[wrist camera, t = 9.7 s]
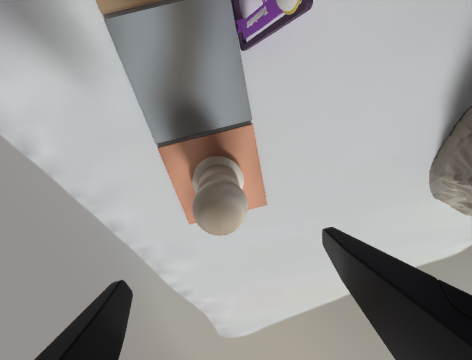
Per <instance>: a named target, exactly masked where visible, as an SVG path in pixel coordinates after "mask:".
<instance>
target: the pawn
mask: <svg viewBox="0 0 472 360" xmlns="http://www.w3.org/2000/svg"><path fill="white" fill-rule="evenodd" d="M192 183H193V188H194V191H195V193H196V195H195V197H194V200H193V204H192V211H193V216H194V219H195V221H196V223H197V224H198V225H199V226H200V228H202V229H203V230H204V231H206V232H207V233H210V234H213V235H227V234H230V233H232V232H234V231H236V230H237V229H238V228H239V227H240V226H241V225H242V224H243V222H244V221H245V218H246V216H247V212H248V202H247V198H246V196H245V194H244V192H243V191H242V189H243V185H244V176H243V173H242V171H241V168H240V167H239V165H238V164H237V163H236V162H235V161H234V160H232V159H231V158H229V157H226V156H221V155H215V156H211V157H208V158H206V159H204V160H202V161H201V162H200V163H199V164H198V166H197V167H196V169H195V171H194V175H193V180H192Z"/></svg>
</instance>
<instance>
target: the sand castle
mask: <svg viewBox="0 0 472 360" xmlns="http://www.w3.org/2000/svg"><path fill="white" fill-rule="evenodd" d="M451 134H452V135H450V136H449V137H448V138H447V139H446V141H445V142H444V143H443V145H442V147H441V149H440V150H439V152H438V155H437V159H434V161H433V163H432V166H431V169H430V175H429V184H430V190H431V193H432V194H433V196H434V197H435V199H438V200H440V201H442V202H444V203H446V204H448V205H450V206H451V207H452V208H454V209H456V210H458V211H459V212H461V213H463V214H465V215H469V216H472V106H471V108H470V109H468V111H467V112H466V113H465V115H464V116H463V117H462V119H461V121H459V122H458V124H457V125H456V126H455V129H454V130H453V132H452V133H451Z"/></svg>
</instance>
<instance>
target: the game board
mask: <svg viewBox="0 0 472 360" xmlns="http://www.w3.org/2000/svg"><path fill="white" fill-rule="evenodd" d="M158 1H162V0H96V2H97V5H98V7H99V9H100V12H101V13H102V14H108V13H113V12H117V11H121V10H125V9H129V8H133V7H137V6H141V5H146V4H150V3H154V2H158ZM104 21H105V24H106V26H107V29H108V31H109V33H110V36H111V38H112V40H113V43H114V45H115V48H116V50H117V52H118V55H119V57H120V60H121V62H122V64H123V67H124V69H125V72H126V74H127V76H128V79H129V81H130V83H131V86H132V88H133V91H134V93H135V95H136V98H137V100H138V103H139V105H140V107H141V110H142V112H143V115H144V117H145V119H146V122H147V124H148V127H149V129H150V131H151V134H152V136H153V138H154V141H155V143H156V144H157V143H161V142H165V141H169V140H173V139H177V138H181V137H185V136H189V135H193V134H197V133H202V132H206V131H210V130H214V129H218V128H222V127H226V126H230V125H234V124H238V123H242V122H246V121H250V120H252V117H251V111H250V106H249V100H248V94H247V89H246V83H245V77H244V72H243V66H242V60H241V55H240V49H239V43H238V38H237V32H236V26H235V21H234V15H233V9H232V4H231V0H183V1H179V2H175V3H171V4H167V5H163V6H158V7H154V8H150V9H146V10H142V11H138V12H134V13H130V14H125V15H121V16H117V17H113V18H109V19H105V20H104ZM158 150H159V153H160V155H161V158H162V160H163V162H164V165H165V167H166V170H167V172H168V174H169V177H170V179H171V181H172V184H173V186H174V189H175V191H176V193H177V196H178V198H179V201H180V203H181V205H182V208H183V210H184V213H185V215H186V217H187V220H188V222H189V224H193V223H196V221H195V219H194V216H193V211H192V204H193V200H194V197H195V195H196V193H195V191H194V188H193V183H192V180H193V175H194V171H195V169H196V167H197V166H198V164H199V163H200V162H201V161H202V160H204V159H206V158H208V157H211V156H215V155H221V156H226V157H229V158H231V159H232V160H234V161H235V162H236V163H237V164H238V165H239V167H240V168H241V171H242V173H243V176H244V185H243V189H242V191H243V192H244V194H245V196H246V198H247V202H248V210H249V209H253V208H257V207H261V206H265V205H267V202H266V196H265V191H264V185H263V179H262V174H261V168H260V162H259V157H258V151H257V145H256V140H255V134H254V128H253V124H250V125H246V126H242V127H238V128H234V129H230V130H226V131H222V132H218V133H214V134H210V135H206V136H202V137H198V138H194V139H189V140H185V141H181V142H177V143H173V144H169V145H165V146H161V147H158Z"/></svg>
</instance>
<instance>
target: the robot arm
mask: <svg viewBox="0 0 472 360" xmlns="http://www.w3.org/2000/svg"><path fill="white" fill-rule="evenodd" d="M322 242H323V246H324V248H325V250H326V252H327V254H328V256H329V258H330V259H331V261H332V263H333V265H334V267H335V269H336V271H337V272H338V274H339V276H340V278H341V280H342V281H343V283H344V284H345V286H346V287H347V289H348V290H349V292H350V293H351V295H352V296H353V297H354V299H355V301H356V302H357V304H358V305H359V307H360V308H361V309H362V311H363V313H364V314H365V315H366V317H367V318H368V320H369V321H370V323H371V324H372V326H373V327H374V328H375V330H376V332H377V333H378V335H379V336H380V337H381V339H382V340H383V342H384V344H385V345H386V346H387V348H388V349H389V351H390V352H391V354H392V355H393V357H394V358H395V360H472V295H470V294H468V293H466V292H464V291H462V290H460V289H458V288H455V287H453V286H451V285H449V284H447V283H445V282H443V281H441V280H437V279H436V278H435V277H433V276H431V275H429V274H427V273H425V272H423V271H421V270H419V269H417V268H415V267H413V266H411V265H409V264H407V263H405V262H403V261H401V260H399V259H397V258H394V257H392V256H390V255H388V254H386V253H384V252H382V251H380V250H378V249H376V248H374V247H372V246H370V245H368V244H366V243H364V242H362V241H360V240H358V239H356V238H354V237H352V236H350V235H348V234H346V233H344V232H342V231H340V230H338V229H336V228H334V227H329V228H325V229H323V230H322ZM132 297H133V293H132V290H131V289H130V288H129V286H128V285H127V284H126V282H125V281H123V280H120V281H116V282H113V283H112V284H110V285H109V286H108V287H107V288H106V289H105V291H103V292H102V293H101V294H100V295H99V297H97V298H96V299H95V300H94V301H93V302H92V303H91V304H90V305H89V306H88V307H87V308H86V309H85V310H84V311H83V312H82V313H81V314H80V315H79V316H78V317H77V318H76V319H75V320H74V321H73V322H72V323H71V324H70V325H69V326H68V327H67V328H66V329H65V330H64V331H63V332H62V333H61V334H60V335H59V336H58V337H57V338H56V339H55V340H54V341H53V342H52V343H51V344H50V345H49V346H48V347H47V348H46V349H45V350H44V351H43V352H42V353H41V354H40V355H38V356H37V358H35V360H118V359H119V355H120V352H121V348H122V345H123V341H124V337H125V333H126V328H127V322H128V318H129V313H130V307H131V303H132Z"/></svg>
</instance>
